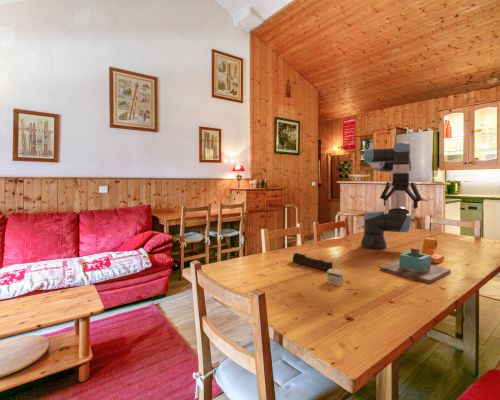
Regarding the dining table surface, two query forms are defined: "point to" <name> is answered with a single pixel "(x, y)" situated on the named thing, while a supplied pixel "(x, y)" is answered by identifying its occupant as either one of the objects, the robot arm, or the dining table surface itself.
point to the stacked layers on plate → (335, 277)
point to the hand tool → (311, 262)
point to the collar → (415, 262)
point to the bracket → (431, 250)
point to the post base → (425, 276)
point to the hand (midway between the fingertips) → (399, 213)
